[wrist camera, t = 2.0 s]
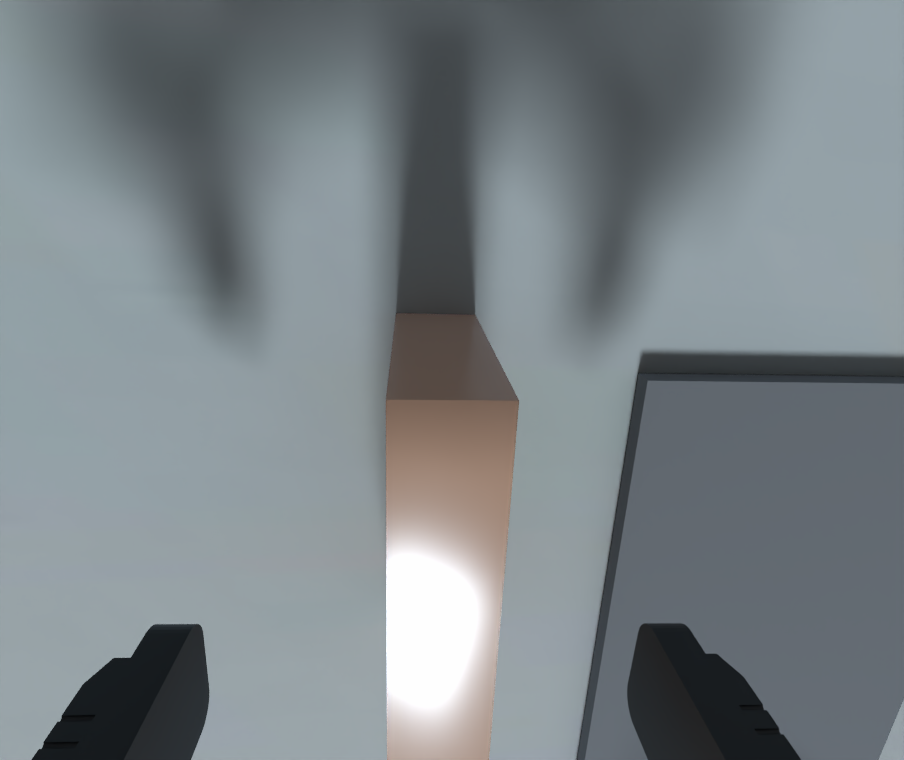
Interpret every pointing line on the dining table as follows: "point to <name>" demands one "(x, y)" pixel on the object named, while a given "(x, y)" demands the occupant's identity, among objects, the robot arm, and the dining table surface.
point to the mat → (763, 552)
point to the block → (445, 534)
